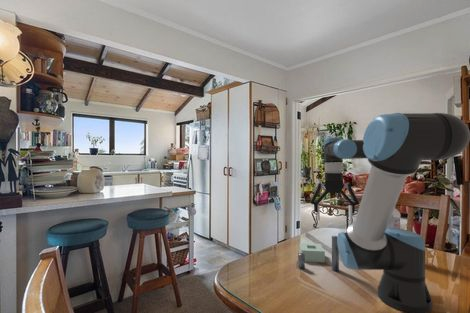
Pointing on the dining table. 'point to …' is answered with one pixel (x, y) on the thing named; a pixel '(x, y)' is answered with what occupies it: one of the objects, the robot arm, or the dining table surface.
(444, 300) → the dining table surface
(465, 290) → the dining table surface
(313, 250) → the hole block
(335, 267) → the long pin
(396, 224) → the water bottle
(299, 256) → the short pin
